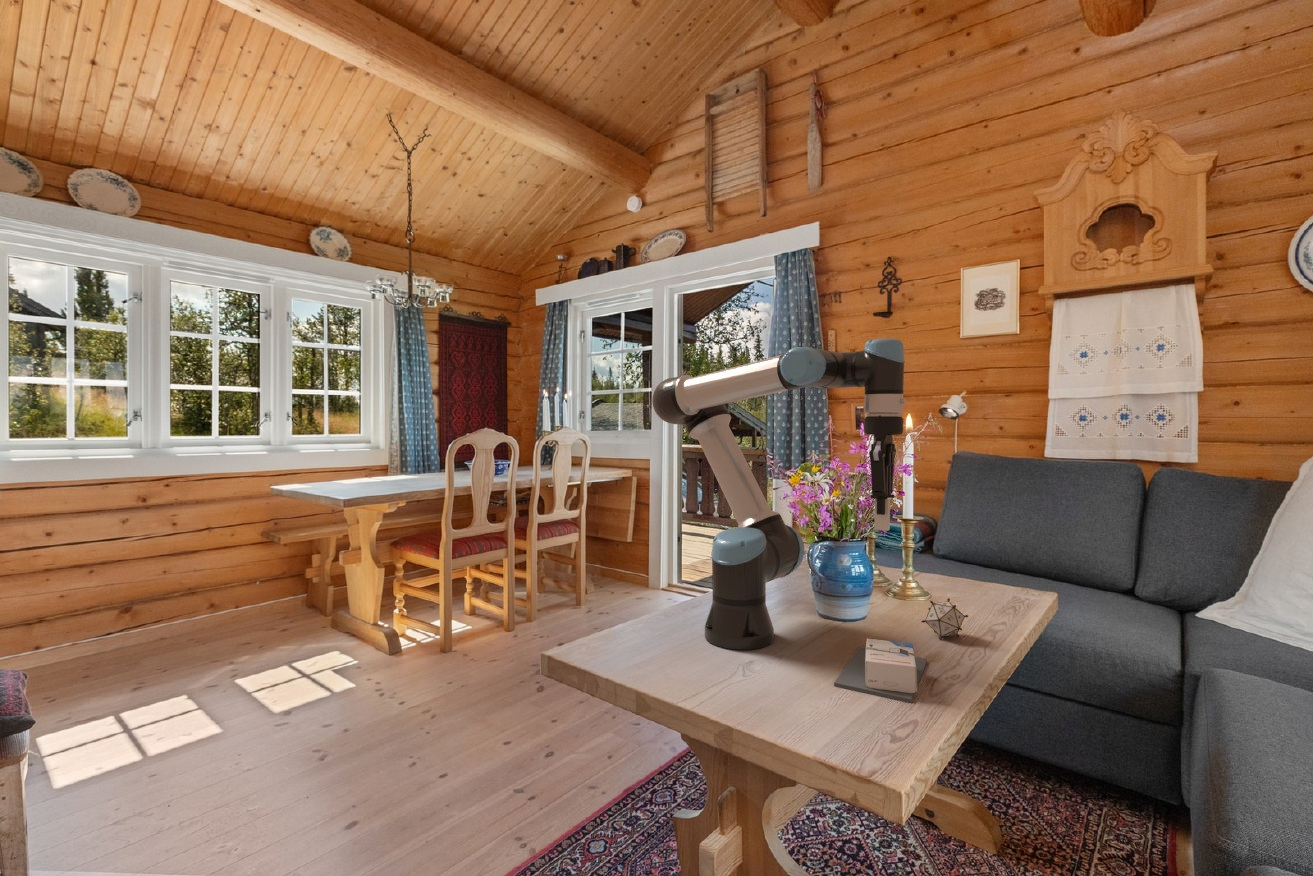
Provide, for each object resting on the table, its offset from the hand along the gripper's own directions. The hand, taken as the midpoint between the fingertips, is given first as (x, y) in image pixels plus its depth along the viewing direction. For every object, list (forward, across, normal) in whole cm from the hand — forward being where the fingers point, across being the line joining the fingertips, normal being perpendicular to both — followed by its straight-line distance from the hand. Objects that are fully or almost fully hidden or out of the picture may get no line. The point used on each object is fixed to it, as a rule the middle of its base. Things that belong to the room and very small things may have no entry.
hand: (882, 529), depth 126 cm
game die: (+25, +16, -10) cm, 31 cm away
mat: (+25, -12, -3) cm, 28 cm away
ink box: (+22, -8, -4) cm, 24 cm away
